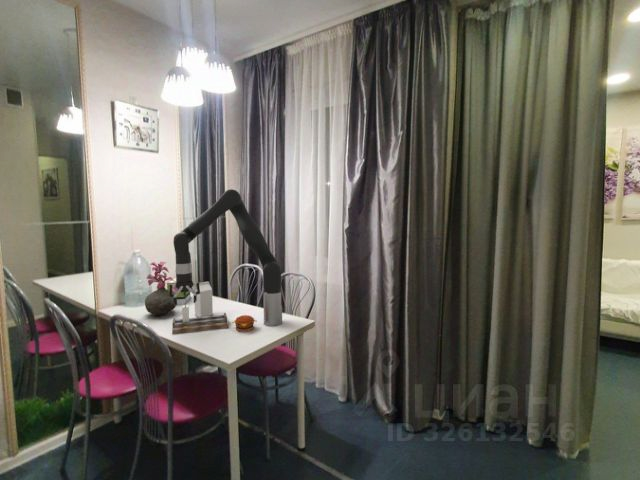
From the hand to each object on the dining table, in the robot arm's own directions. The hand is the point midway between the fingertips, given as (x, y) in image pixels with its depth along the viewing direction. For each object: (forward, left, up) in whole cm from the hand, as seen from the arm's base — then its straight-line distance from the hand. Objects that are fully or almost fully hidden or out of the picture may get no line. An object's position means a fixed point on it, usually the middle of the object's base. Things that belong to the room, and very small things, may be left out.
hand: (185, 303), depth 167 cm
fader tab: (0, 0, -11) cm, 11 cm away
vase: (+13, -26, -13) cm, 32 cm away
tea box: (+5, -49, -13) cm, 51 cm away
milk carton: (-9, -17, -13) cm, 23 cm away
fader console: (-7, 0, -13) cm, 14 cm away
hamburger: (-28, +11, -13) cm, 33 cm away
